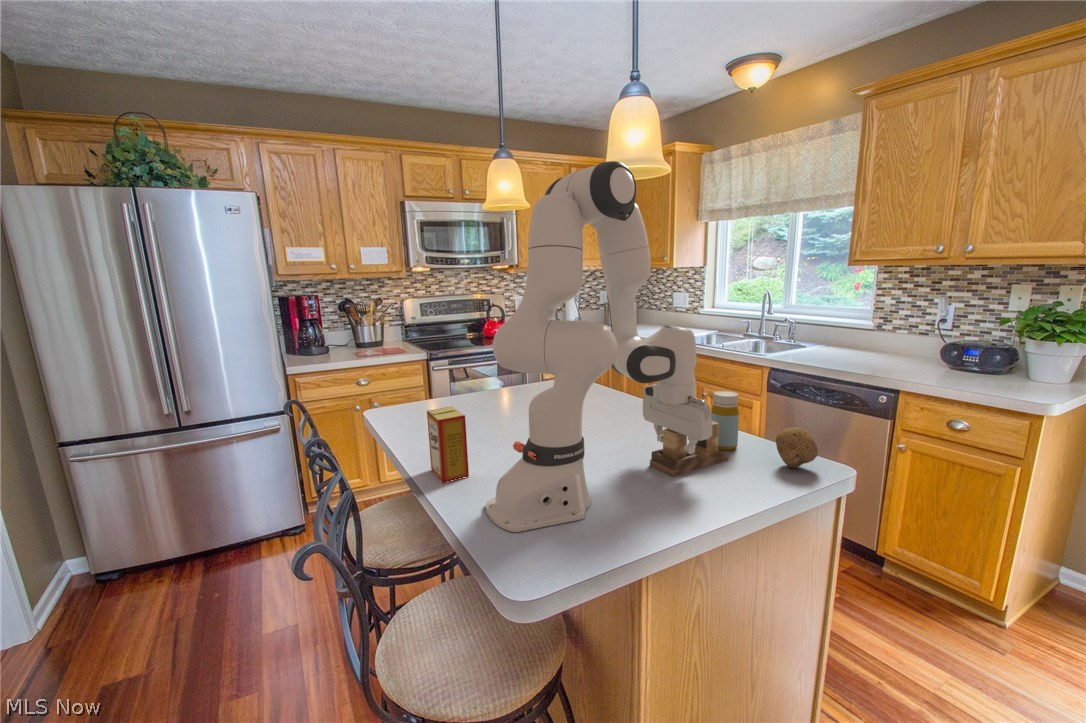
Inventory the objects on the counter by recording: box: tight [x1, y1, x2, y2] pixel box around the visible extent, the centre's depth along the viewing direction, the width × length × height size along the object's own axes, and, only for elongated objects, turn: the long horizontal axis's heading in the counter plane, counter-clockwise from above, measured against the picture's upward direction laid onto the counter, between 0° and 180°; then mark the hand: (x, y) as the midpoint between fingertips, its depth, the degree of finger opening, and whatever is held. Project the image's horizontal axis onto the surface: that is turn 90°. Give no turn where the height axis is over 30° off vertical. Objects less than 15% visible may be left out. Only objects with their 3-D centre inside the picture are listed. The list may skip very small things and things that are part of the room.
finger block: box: [662, 428, 688, 460], centre depth 120 cm, size 4×4×8 cm
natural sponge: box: [775, 426, 819, 468], centre depth 117 cm, size 9×9×10 cm
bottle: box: [710, 390, 740, 452], centre depth 132 cm, size 7×7×15 cm
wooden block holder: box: [649, 421, 729, 477], centre depth 122 cm, size 19×8×10 cm, turn 119°
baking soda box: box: [426, 406, 470, 484], centre depth 119 cm, size 10×6×16 cm
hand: (674, 447), depth 120 cm, fingers open, 8 cm apart
